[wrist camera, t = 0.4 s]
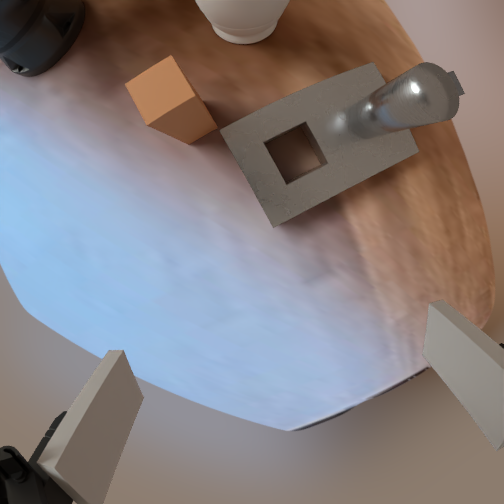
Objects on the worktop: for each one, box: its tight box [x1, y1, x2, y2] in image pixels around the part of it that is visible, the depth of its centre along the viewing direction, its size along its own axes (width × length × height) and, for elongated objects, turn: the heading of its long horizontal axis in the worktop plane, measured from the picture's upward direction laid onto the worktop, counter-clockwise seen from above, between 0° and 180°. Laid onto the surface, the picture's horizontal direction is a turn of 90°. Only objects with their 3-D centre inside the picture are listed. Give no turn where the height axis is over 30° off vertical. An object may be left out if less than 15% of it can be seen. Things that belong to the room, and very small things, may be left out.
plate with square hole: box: [219, 62, 464, 228], centre depth 24 cm, size 12×22×18 cm, turn 119°
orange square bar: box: [125, 55, 218, 145], centre depth 25 cm, size 4×4×15 cm
